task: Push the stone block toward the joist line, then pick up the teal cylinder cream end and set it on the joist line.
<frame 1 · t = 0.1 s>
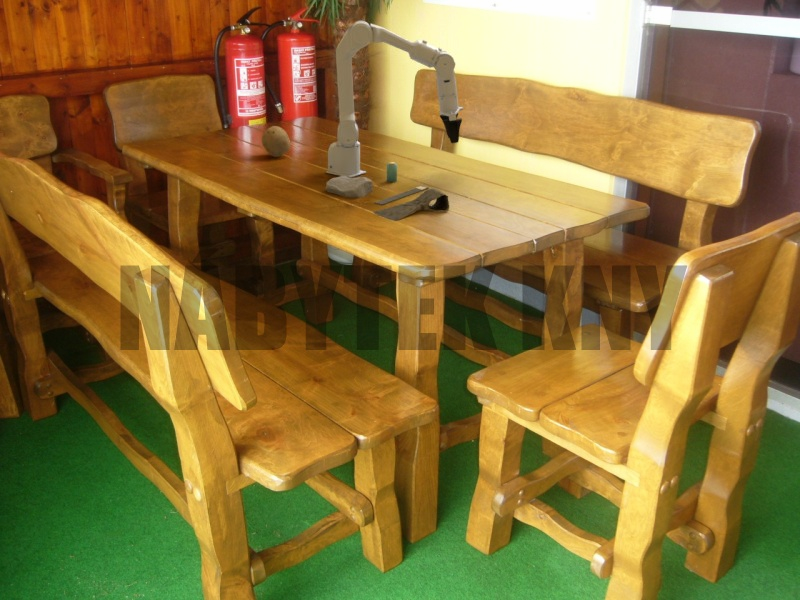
hand: (453, 139, 247), 11 cm above the table, tool pointing down, fingers open, 7 cm apart
brown oval lump: (276, 157, 268), on the table
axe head: (412, 214, 214), on the table
teal cylinder cream end: (391, 180, 243), on the table
stone block: (347, 193, 231), on the table
joist line: (402, 195, 228), on the table
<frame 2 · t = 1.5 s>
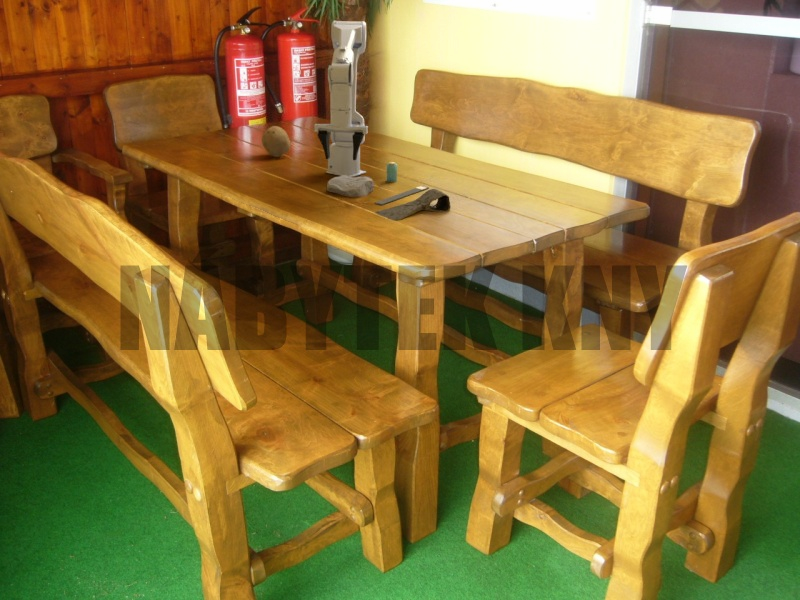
hand: (341, 158, 228), 9 cm above the table, tool pointing down, fingers open, 7 cm apart
nothing on the table moved.
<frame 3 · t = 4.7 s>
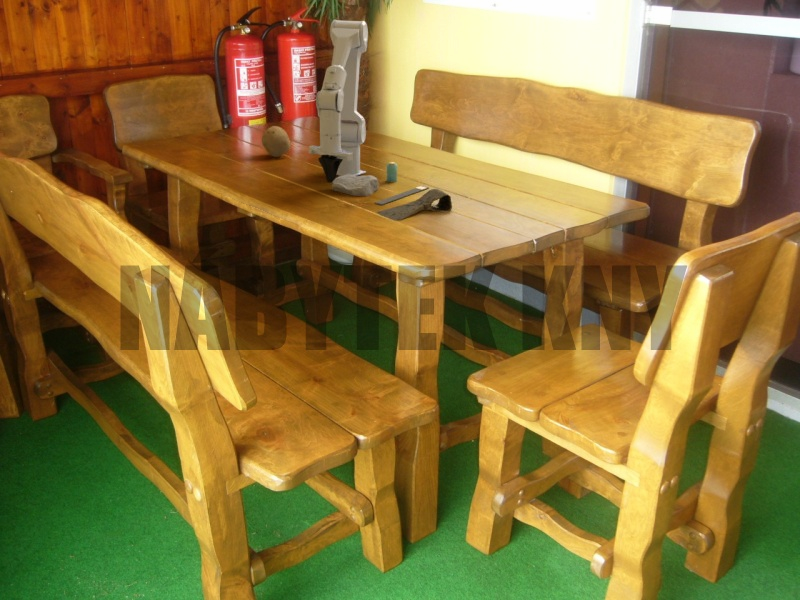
hand: (330, 181, 233), 2 cm above the table, tool pointing down, fingers closed
stone block: (353, 192, 232), on the table
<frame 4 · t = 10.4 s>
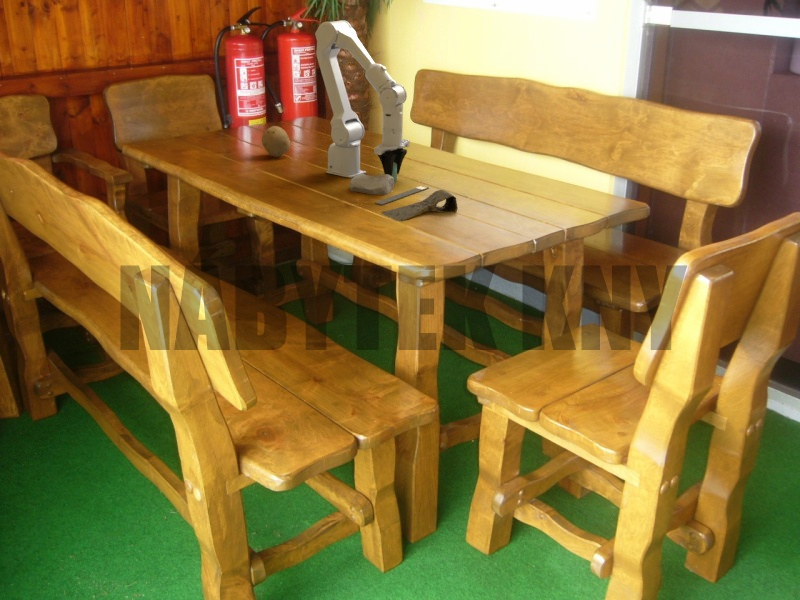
hand: (391, 174, 242), 2 cm above the table, tool pointing down, fingers closed on teal cylinder cream end, 3 cm apart
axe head: (419, 215, 214), on the table
teal cylinder cream end: (391, 180, 243), on the table, touching gripper
stone block: (371, 191, 233), on the table
everything else where it was.
when the fingers open (3 cm above the table, at t = 13.3 s): teal cylinder cream end stays where it is, resting on joist line.
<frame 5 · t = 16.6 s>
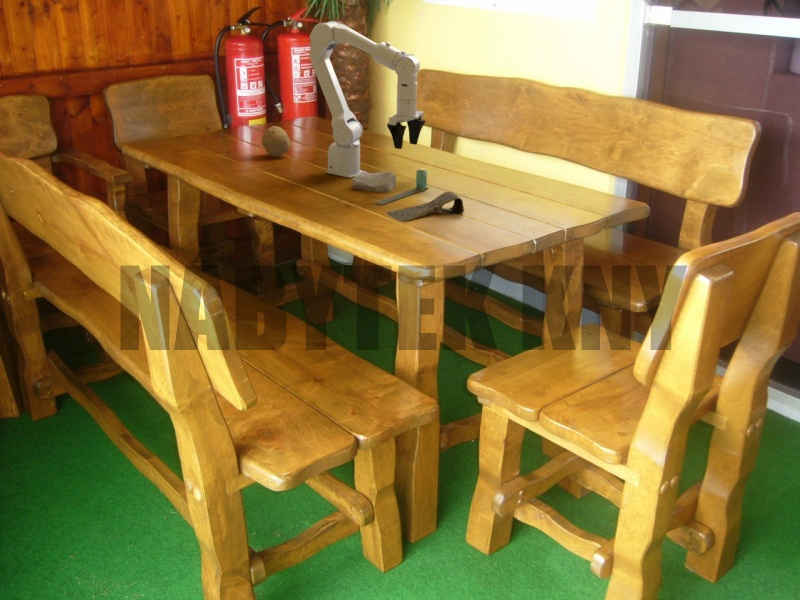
hand: (405, 146, 241), 10 cm above the table, tool pointing down, fingers open, 7 cm apart
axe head: (424, 216, 213), on the table
teal cylinder cream end: (421, 187, 235), resting on joist line
stone block: (373, 189, 236), on the table
everything else where it was.
at the end: stone block moved 9.2 cm from its start; teal cylinder cream end 0.0 cm from the target spot, resting on joist line; teal cylinder cream end tilted 0° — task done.
